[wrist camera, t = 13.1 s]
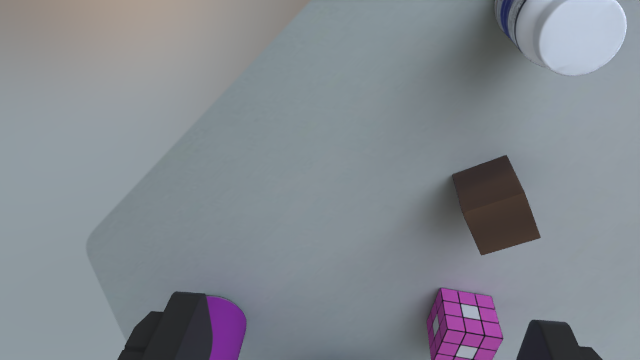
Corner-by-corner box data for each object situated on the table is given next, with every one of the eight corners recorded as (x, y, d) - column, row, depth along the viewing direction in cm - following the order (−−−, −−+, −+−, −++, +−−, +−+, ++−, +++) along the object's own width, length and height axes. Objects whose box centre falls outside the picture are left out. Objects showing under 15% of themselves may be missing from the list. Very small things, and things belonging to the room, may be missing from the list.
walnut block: (452, 174, 44) (462, 213, 39) (506, 154, 42) (524, 192, 37) (469, 214, 46) (481, 255, 41) (521, 197, 44) (540, 238, 39)
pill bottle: (591, -10, 35) (661, 26, 26) (531, 53, 37) (576, 103, 29) (534, -60, 33) (589, -39, 25) (476, 9, 36) (507, 49, 28)
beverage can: (214, 281, 54) (178, 373, 44) (261, 319, 57) (238, 414, 47) (173, 308, 57) (130, 400, 47) (219, 343, 60) (189, 437, 50)
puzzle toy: (491, 296, 51) (504, 338, 47) (475, 330, 55) (484, 374, 50) (440, 287, 51) (447, 329, 47) (426, 322, 55) (431, 364, 50)
